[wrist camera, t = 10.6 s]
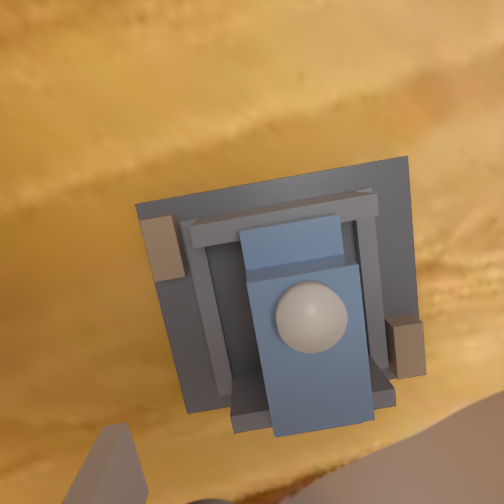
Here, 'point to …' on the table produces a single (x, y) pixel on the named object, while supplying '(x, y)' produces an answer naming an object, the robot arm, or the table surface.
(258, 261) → the block
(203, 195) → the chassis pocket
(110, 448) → the robot arm
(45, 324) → the table surface
